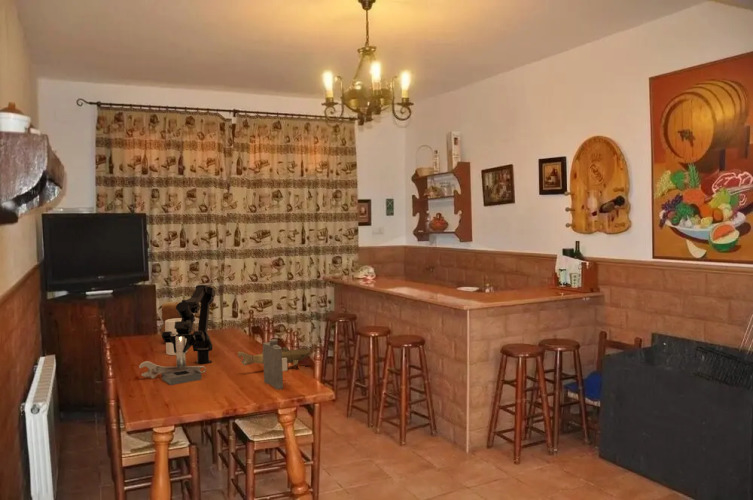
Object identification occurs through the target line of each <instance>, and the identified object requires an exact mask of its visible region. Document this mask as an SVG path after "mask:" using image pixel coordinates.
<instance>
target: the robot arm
mask: <svg viewBox="0 0 753 500" xmlns="http://www.w3.org/2000/svg"><path fill="white" fill-rule="evenodd" d="M215 296H216V290H215V289H214V288H213V287H210V286H208V285H206V284H199V285H196V286H195V290H194V291H193V293H192V294H191V296H190V297H189V298H188V299H182V300H181V302H179V303H178V304H177V305H176V310H177V312H178V314H179V316H180V317H181V318H182V319H181V321H176V322H175V327H174V329H176V332H177V333H178V334H175V333H172V332H171V331H166V332H163V333H162V332H161V338H162V340H163V342H164V343H165V344H166V343H172V344H173V347H174V353H176V341H175V337H176V336H185V339H187V341H186V344H185V347H184V353H185V352H186V351H187V350H189V349H190V348H191V347H192V350H193V351H192V352H196V353H197V355H196V356H197V360H195V361H194V362H195V363H197V364H199V365H203V364H208V363H212V360H210V352H211V351H213V343H212V341H211V336H210V335H209V333H208V327H209V317H210V309H211V308H210V307H211V305H212V303H213V302H214V300H215ZM198 313H199V317H198V327H197V328H198V329H197V330H194V328H193V326H194V323H195V321H196V315H195V314H198ZM193 330H194V331H193ZM192 331H193V333H192ZM185 354H186V353H185Z"/></svg>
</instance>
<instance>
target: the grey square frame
mask: <svg viewBox="0 0 753 500" xmlns="http://www.w3.org/2000/svg"><path fill="white" fill-rule="evenodd" d="M161 380H162V381H163V382H165V383H167V384H169V385H170V386H172V385H173V386H174V385H179V384H185V383H189V382H190V383H191V382H194V381H200V380H202V373H200V372H198V371H197V370H195V369H193V368H189V369H183V370H177V371H172V372H166V373H161Z"/></svg>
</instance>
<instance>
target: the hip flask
mask: <svg viewBox="0 0 753 500" xmlns="http://www.w3.org/2000/svg"><path fill="white" fill-rule="evenodd" d="M278 341H279V340H278V338H276V339H275V338H274V339H269V341H268V342H263V343H262V351H263V361H264V364H263V382H264V383H265V384H268V385H269V386H272V387H274V389H275V390H283V389H284V380H283V377H284V374H283V372H284V371H282V350H283V348H282V347H281V346H280V345H278Z"/></svg>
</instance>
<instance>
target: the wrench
mask: <svg viewBox="0 0 753 500" xmlns="http://www.w3.org/2000/svg"><path fill="white" fill-rule="evenodd" d="M138 367H139V369H142V368H145V367H146V368H147V369H148V370H147V371H146V372H143V373H140V374H141V376H142V377H144V378H151V380H152V379H156V378H157V377H156V376H158V375H162V373H166V372H172V371H177V370H183V369H189V368H193V369H195V370H197V371H198V372H200V373H201V374H202V373H205V372H206V371H207V368H206V366H204V365H186V367H183V368H177V365H176V366H171V365H170V366H169V365H168V366H162V365H158V364H156V363H154V362H151V361H148V360H146V361H142V362H141V363H140V364H139V365H138ZM203 368H204V370H203V371H202V370H201V369H203Z"/></svg>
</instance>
